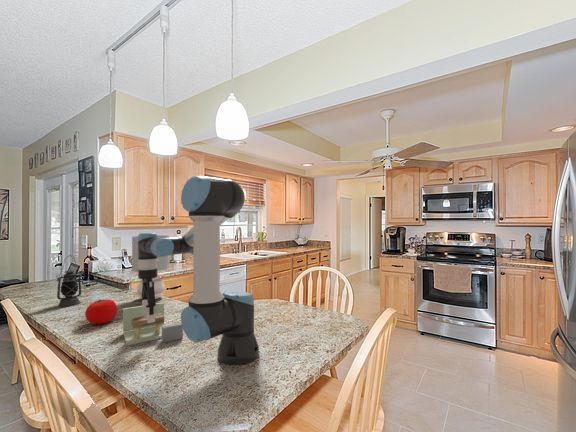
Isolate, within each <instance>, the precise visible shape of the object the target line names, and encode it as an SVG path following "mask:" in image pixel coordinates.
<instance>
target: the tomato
mask: <svg viewBox="0 0 576 432" xmlns="http://www.w3.org/2000/svg"><path fill="white" fill-rule="evenodd" d="M117 314H118V305H117V303H116V302H115V301H114V300H112V299H98V300H94V301H92V302H90V304H89V305H88V306H87V307H86V309H85V313H84V315H85V316H84V317H85V319H86V320H87V322H89V323H90V324H93V325H103V324H107V323H109V322H111V321H113V320H114V318H115V317H117Z"/></svg>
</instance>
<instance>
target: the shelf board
mask: <svg viewBox="0 0 576 432" xmlns="http://www.w3.org/2000/svg"><path fill="white" fill-rule="evenodd" d="M158 323H164V324H165V315H164V316H163V314H162V313H159V314H155V322H152V323H147V316H141V317H136V318H132V326H133V328H137V327H143V326H148V325H153V324H158Z"/></svg>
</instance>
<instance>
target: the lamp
mask: <svg viewBox="0 0 576 432" xmlns="http://www.w3.org/2000/svg"><path fill="white" fill-rule="evenodd" d="M166 237H170V236H169V235H163V234H162V235H157V238H166ZM131 241H132V242H131V244H132V245H131V260H132V261H131V262H132V263H131V266H132V267H131V270H132V272H135V273H136V272H137V273H138V271H139V270H140V269H139V268H138V235H134V236H132V238H131ZM157 260H159V262H157V267H156V268H157V272H161V271H165V270H168V269H170V255H168V256H164V257H159V256H157ZM152 281H153V282H154V291H155V300H158V299H160V298H161V297H162V296H163V295H164V294H165V291H166V290H165V287H166V286H165V283H164V282H163V279H161V278H160V277H159V276H157V277H156V278H152ZM142 283H143V280H142V279H140V282H139V283H138V285H137V288H136V295H137V296H138V298H139V299H141V300H142V297H141V296H142Z"/></svg>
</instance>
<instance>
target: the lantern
mask: <svg viewBox="0 0 576 432" xmlns="http://www.w3.org/2000/svg"><path fill="white" fill-rule="evenodd" d="M69 257H71V258H73V260H74V263H75V267H76V268H77V272H78V273H79V274H77V273H76V270H72V269H68V270H66V271H62V270H64V267H65V264H63V266H62V268H61V270H60V273H59V275H58V277H57V278H56V281H57V282H58V283H57V292H56V299H57V300H59V303H58V305H57V306H58V307H59V308H65V307H66V308H68V307H72V306H73V307H74V306H77V305H80V304H81V301H80V299H79V297H80V296H81V295H82V284H81V279H82V274H81V273H80V270H79V267H78V266H77V262H76V258H75V257H73V256H72V255H71V254H69V255H68V256H67V257H65V258H64V260H63V263H65V261H66V259H67V258H69ZM62 272H63V273H65V274H62ZM61 274H62V276H61ZM77 277H78V278H77ZM75 278H76V279H77V280H76V279H75ZM61 279H64V280H62V282H61ZM77 281H78V282H77ZM77 292H78V294H77ZM60 293H61V294H60ZM60 295H62V296H63V297H61V296H60Z"/></svg>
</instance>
